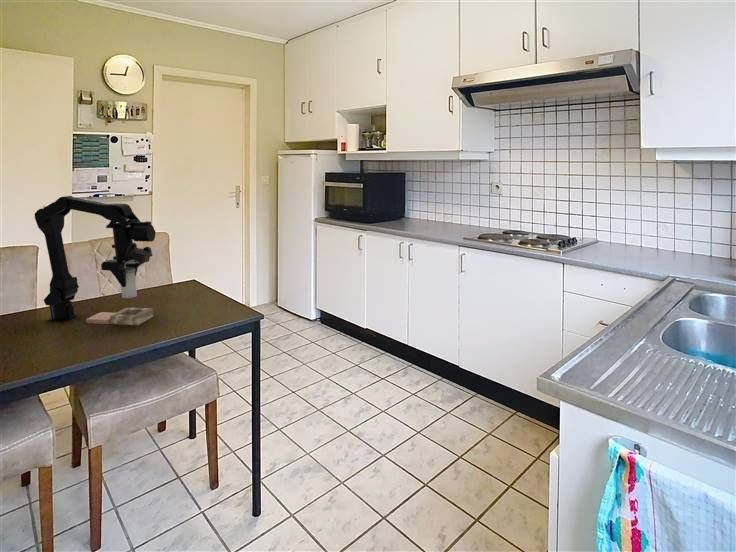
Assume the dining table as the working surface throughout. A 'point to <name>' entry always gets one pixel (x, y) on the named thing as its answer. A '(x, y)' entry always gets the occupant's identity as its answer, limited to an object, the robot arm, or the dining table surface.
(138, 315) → the beige square frame
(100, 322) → the tile
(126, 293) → the plug
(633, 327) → the dining table surface
